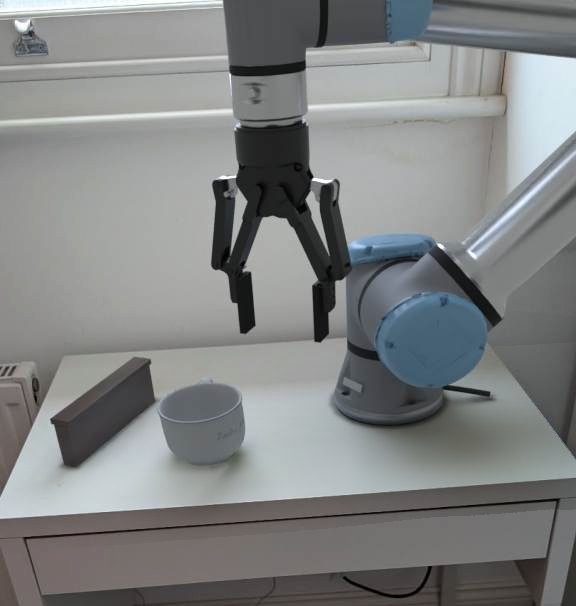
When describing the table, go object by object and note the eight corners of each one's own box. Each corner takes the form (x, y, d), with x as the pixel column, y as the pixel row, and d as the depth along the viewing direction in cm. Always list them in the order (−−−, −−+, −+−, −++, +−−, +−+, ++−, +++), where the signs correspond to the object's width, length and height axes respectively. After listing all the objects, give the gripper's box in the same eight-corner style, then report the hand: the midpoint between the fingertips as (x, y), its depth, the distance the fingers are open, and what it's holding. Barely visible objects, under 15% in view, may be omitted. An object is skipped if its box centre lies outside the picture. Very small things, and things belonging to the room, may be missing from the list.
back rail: (157, 401, 120) (150, 358, 116) (78, 468, 105) (67, 421, 101) (141, 398, 121) (134, 356, 117) (61, 464, 106) (49, 418, 102)
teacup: (236, 477, 101) (229, 421, 97) (154, 472, 103) (144, 417, 99) (261, 424, 112) (256, 371, 108) (186, 421, 114) (179, 369, 110)
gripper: (159, 125, 82) (187, 336, 95) (359, 128, 74) (361, 356, 87) (195, 112, 87) (217, 313, 100) (384, 114, 80) (382, 331, 93)
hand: (284, 333), depth 94 cm, fingers open, 9 cm apart
